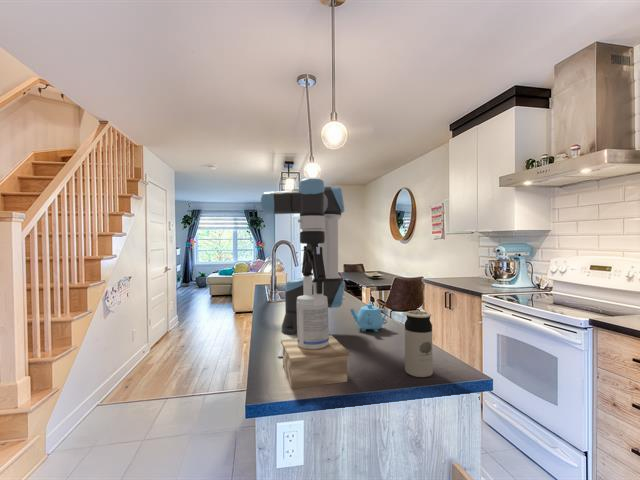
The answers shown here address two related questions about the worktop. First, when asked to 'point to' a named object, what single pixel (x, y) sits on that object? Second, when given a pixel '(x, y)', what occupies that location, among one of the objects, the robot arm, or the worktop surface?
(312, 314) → the supplement tub
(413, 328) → the travel mug
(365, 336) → the worktop surface
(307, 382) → the wooden block
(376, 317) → the teapot
